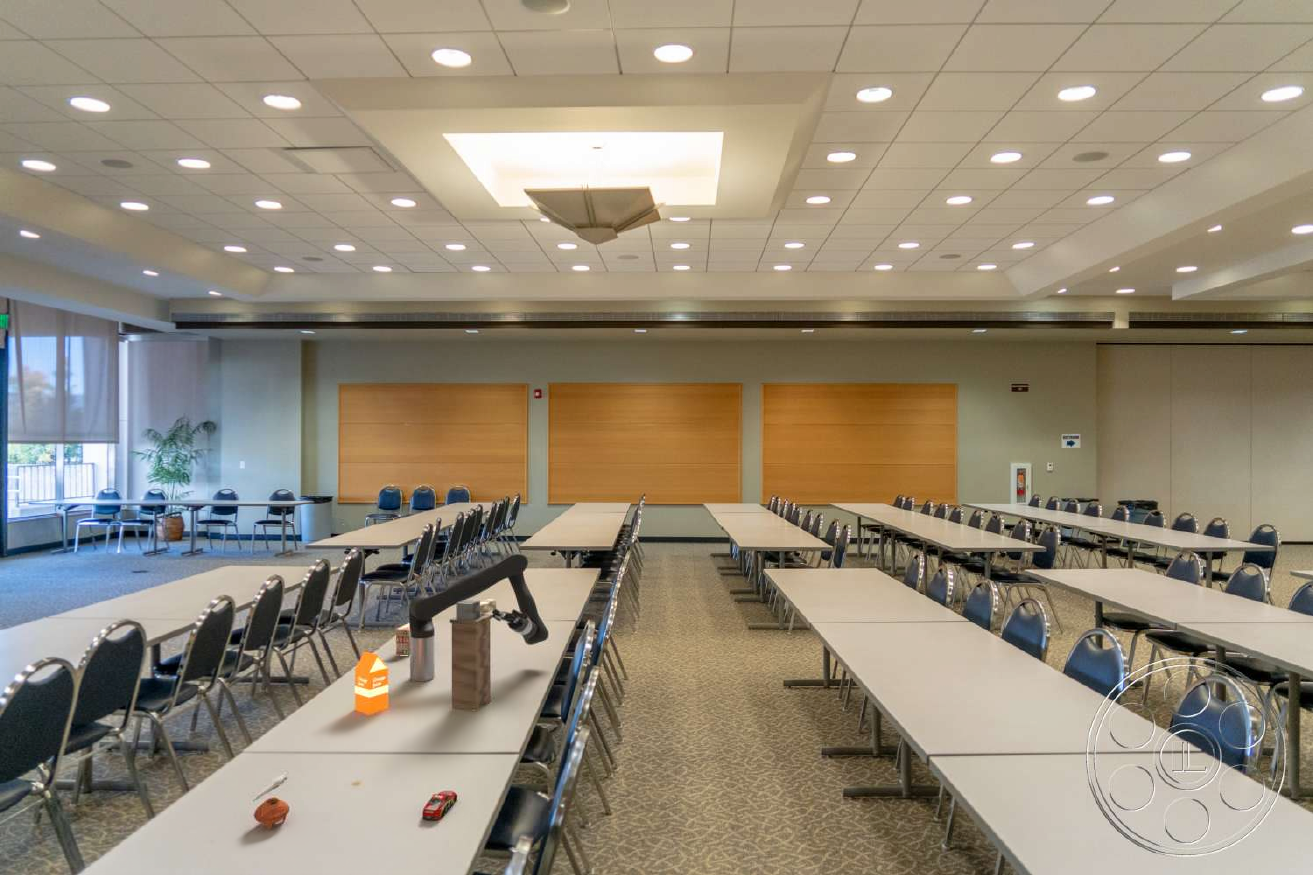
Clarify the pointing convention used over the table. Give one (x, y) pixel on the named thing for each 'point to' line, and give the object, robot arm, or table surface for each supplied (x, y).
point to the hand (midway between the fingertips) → (503, 611)
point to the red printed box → (403, 640)
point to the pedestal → (471, 663)
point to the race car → (439, 805)
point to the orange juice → (371, 684)
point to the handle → (473, 609)
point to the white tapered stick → (272, 784)
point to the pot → (271, 812)
